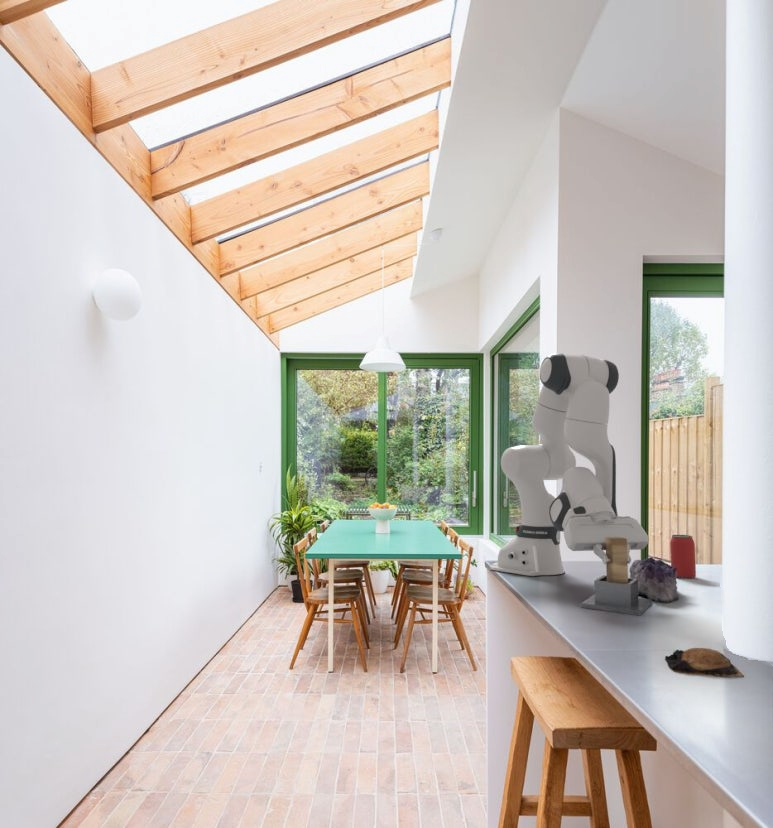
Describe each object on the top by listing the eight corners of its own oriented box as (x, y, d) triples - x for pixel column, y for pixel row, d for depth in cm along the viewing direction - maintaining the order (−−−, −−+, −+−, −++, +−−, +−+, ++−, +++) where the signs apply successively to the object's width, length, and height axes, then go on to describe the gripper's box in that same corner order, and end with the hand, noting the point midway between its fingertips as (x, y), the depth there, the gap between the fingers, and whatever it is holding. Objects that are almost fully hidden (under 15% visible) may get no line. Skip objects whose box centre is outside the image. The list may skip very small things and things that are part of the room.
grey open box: (581, 607, 141) (580, 581, 142) (596, 596, 152) (595, 572, 152) (640, 615, 134) (639, 588, 134) (651, 603, 145) (650, 578, 145)
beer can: (669, 577, 177) (667, 536, 178) (673, 574, 182) (671, 533, 183) (694, 580, 173) (692, 537, 174) (697, 576, 178) (696, 535, 179)
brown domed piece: (729, 665, 104) (728, 642, 104) (747, 682, 95) (746, 658, 96) (661, 660, 106) (661, 638, 106) (673, 676, 98) (672, 652, 98)
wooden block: (606, 587, 144) (605, 537, 145) (620, 587, 145) (619, 536, 146) (614, 590, 141) (612, 539, 142) (628, 590, 141) (626, 538, 142)
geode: (695, 605, 144) (688, 563, 145) (644, 609, 146) (637, 568, 147) (673, 584, 164) (667, 547, 165) (628, 588, 166) (622, 552, 167)
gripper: (630, 524, 157) (653, 569, 146) (555, 525, 154) (573, 571, 143) (639, 508, 153) (663, 553, 142) (562, 509, 150) (582, 555, 139)
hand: (617, 562), depth 143 cm, fingers closed on wooden block, 3 cm apart
